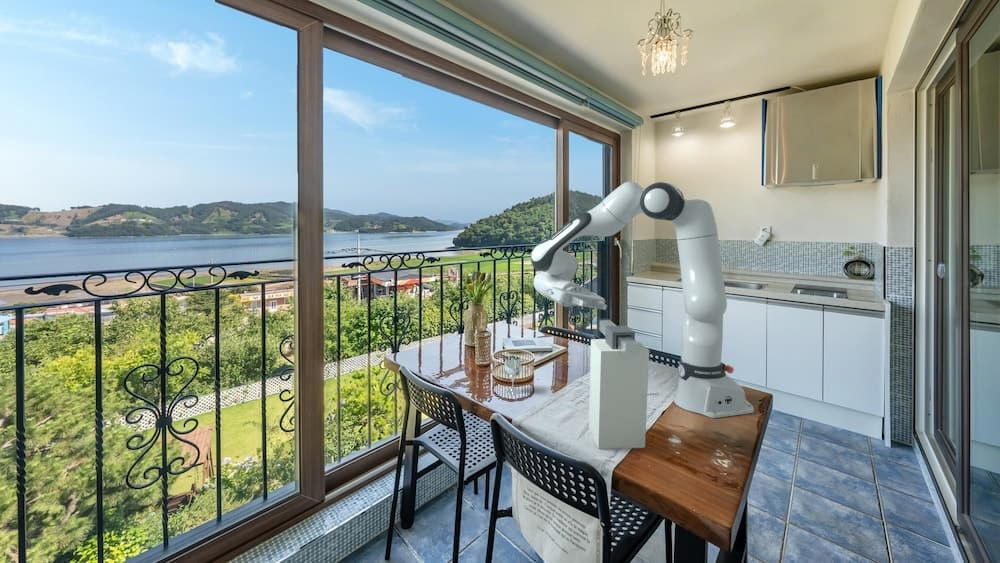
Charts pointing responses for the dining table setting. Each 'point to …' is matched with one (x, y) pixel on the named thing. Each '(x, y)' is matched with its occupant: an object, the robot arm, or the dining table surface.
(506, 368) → the wineglass
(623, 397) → the tall white pillar
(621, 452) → the dining table surface
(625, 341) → the angular gray block
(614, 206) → the robot arm
